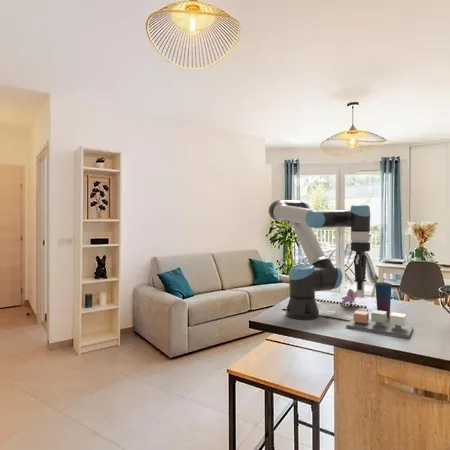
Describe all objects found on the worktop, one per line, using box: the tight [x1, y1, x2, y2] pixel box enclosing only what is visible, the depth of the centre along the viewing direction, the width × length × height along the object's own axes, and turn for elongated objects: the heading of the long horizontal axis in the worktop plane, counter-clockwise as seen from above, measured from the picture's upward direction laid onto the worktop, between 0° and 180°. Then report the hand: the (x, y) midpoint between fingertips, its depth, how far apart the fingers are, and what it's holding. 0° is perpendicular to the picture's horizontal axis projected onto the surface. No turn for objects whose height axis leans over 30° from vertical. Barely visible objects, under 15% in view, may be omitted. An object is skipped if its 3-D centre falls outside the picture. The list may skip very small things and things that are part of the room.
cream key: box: [389, 311, 407, 326], centre depth 131 cm, size 5×5×4 cm
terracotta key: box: [352, 309, 370, 323], centre depth 139 cm, size 5×5×4 cm
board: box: [345, 317, 414, 339], centre depth 135 cm, size 23×13×3 cm, turn 55°
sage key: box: [370, 309, 388, 323], centre depth 135 cm, size 5×5×4 cm
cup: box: [374, 281, 393, 319], centre depth 151 cm, size 7×7×15 cm
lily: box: [340, 288, 358, 308], centre depth 168 cm, size 12×12×10 cm
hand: (360, 297), depth 139 cm, fingers closed
